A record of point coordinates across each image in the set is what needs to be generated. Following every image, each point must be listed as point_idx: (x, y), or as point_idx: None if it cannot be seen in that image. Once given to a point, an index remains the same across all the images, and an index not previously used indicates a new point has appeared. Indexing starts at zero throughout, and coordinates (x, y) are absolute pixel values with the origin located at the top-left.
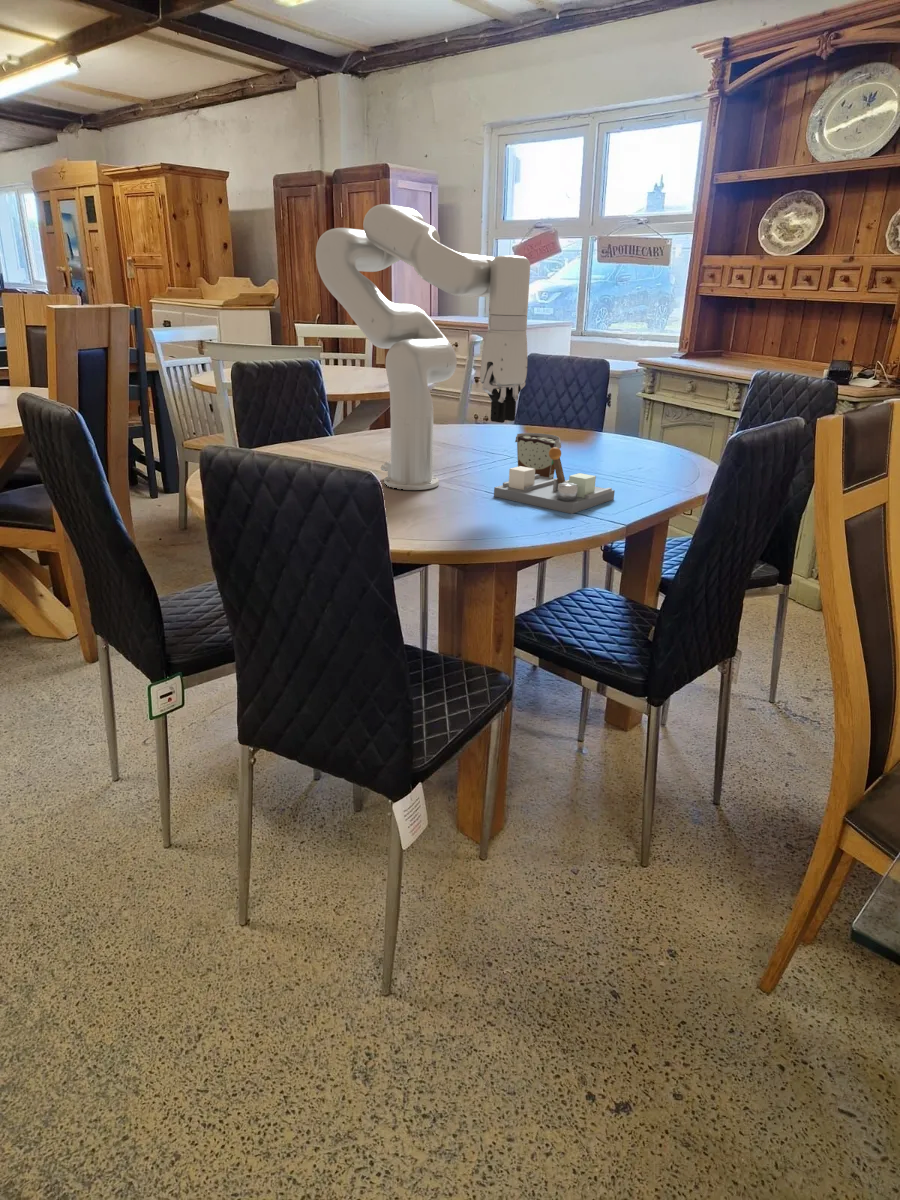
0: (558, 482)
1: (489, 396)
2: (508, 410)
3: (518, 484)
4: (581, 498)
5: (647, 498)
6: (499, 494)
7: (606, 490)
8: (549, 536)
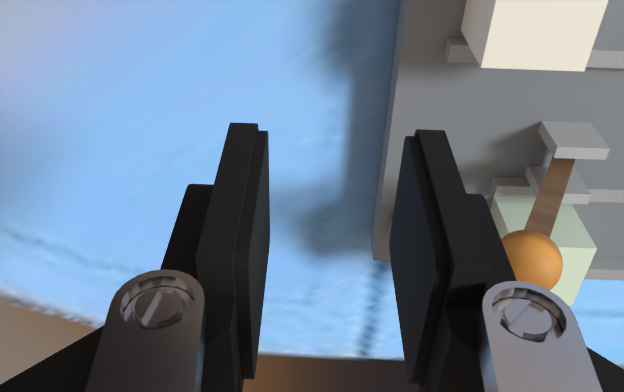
0: (551, 160)
1: (51, 356)
2: (406, 266)
3: (472, 5)
4: None
5: None
6: None
7: (595, 278)
8: None
